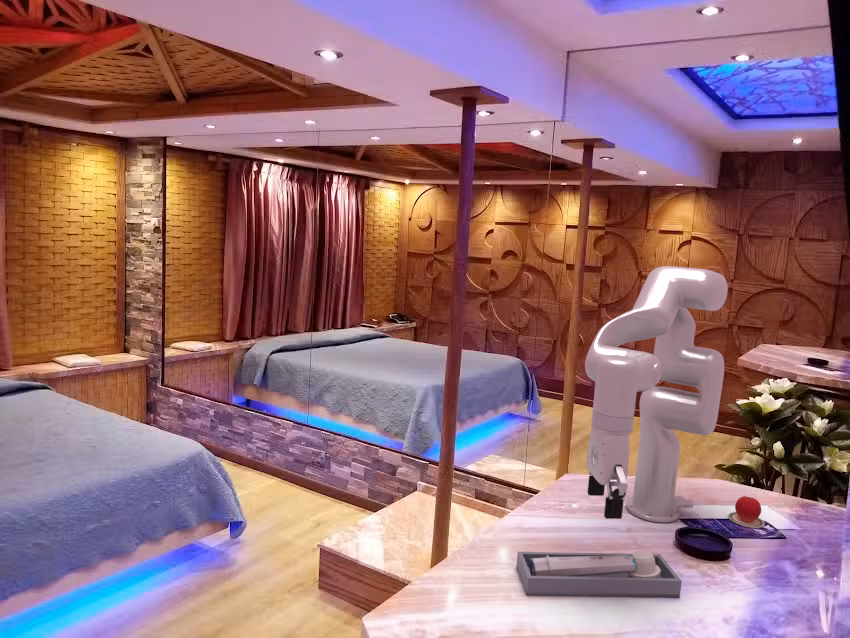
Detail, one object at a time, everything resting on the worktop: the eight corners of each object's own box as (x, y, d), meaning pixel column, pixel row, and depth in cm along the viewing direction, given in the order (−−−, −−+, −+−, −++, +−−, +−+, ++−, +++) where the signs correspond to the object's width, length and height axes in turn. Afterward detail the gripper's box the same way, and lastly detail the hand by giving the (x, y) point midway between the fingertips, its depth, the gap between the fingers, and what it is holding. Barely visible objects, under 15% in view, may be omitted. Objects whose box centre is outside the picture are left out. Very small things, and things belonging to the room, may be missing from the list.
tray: (658, 570, 131) (660, 554, 131) (679, 597, 122) (681, 580, 121) (516, 567, 129) (517, 551, 129) (526, 595, 120) (528, 578, 119)
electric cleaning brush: (528, 552, 126) (653, 542, 126) (529, 583, 127) (654, 573, 127) (532, 566, 121) (664, 555, 121) (534, 598, 122) (664, 588, 122)
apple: (720, 517, 158) (724, 492, 157) (742, 512, 162) (745, 487, 161) (749, 531, 151) (753, 505, 150) (771, 526, 155) (775, 500, 154)
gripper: (579, 406, 129) (571, 486, 131) (608, 436, 112) (599, 527, 114) (615, 407, 129) (607, 487, 132) (650, 437, 112) (640, 528, 115)
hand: (603, 506), depth 123 cm, fingers open, 9 cm apart
